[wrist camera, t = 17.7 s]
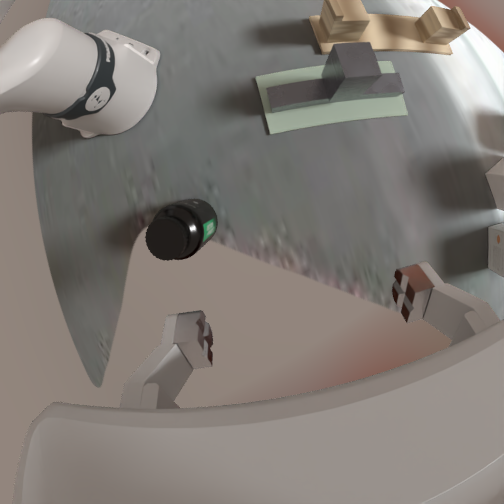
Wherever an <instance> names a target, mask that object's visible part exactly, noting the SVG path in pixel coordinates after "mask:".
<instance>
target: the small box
mask: <svg viewBox="0 0 504 504" xmlns="http://www.w3.org/2000/svg"><path fill="white" fill-rule="evenodd" d="M488 269H490V270H492V271H494V272H495V273H497V274H499V275H500V276H502V277H504V223H501V224H497V225H493V226H490V227H488Z"/></svg>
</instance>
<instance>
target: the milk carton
mask: <svg viewBox="0 0 504 504" xmlns="http://www.w3.org/2000/svg"><path fill="white" fill-rule="evenodd" d="M485 175H486V178H487V181H488V183H489V186H490V189H491V191H492V194H493V197H494V200H495V203H496V206H497V209H500V210H503V211H504V157H503V158H502V159H501V160H500V161H499V162H498V163H497V164H496V165H495V166H493V167H492V168H491V169H490V170H489V171H488V172H487V173H485Z"/></svg>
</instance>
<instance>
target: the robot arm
mask: <svg viewBox="0 0 504 504" xmlns="http://www.w3.org/2000/svg"><path fill="white" fill-rule="evenodd" d="M14 2H15V0H0V23H1V21H2V20H3V18H4V17H5V15H6V13H7V12H8V10H9V9H10V7H11V6H12V4H13V3H14ZM147 52H149V53H148V54H147V55H146V53H147ZM159 58H160V52H159V51H158V50H156V49H155V48H152V47H150V46H148V45H145V44H143V43H141V42H138V41H136V40H133V39H131V38H128V37H126V36H123V35H120V34H118V33H115V32H112V31H109V30H104V31H102V32H100V33H98V34H94V33H91V32H90V33H82V32H81V31H79V30H77V29H75V28H73V27H71V26H69V25H68V24H66V23H64V22H62V21H60V20H58V19H55V18H43V19H39V20H36V21H34V22H32V23H29V24H28V25H26V26H24V27H22V28H21V29H19V30H18V31H17V32H16V33H14V34H13V35H12V36H11V37H10V38H9V39H8V40H7V41H6V42H5V43H3V44H2V45H1V46H0V114H1V113H5V112H12V111H13V112H14V111H15V112H16V111H26V112H27V111H28V112H40V113H43V114H44V115H46V116H48V117H52V118H54V119H59V120H61V121H62V125H64V126H66V127H69V128H73V129H77V130H79V131H80V133H81V135H82V136H83V137H85V138H92V137H94V136H96V135H99V134H107V135H113V134H118V133H122V132H124V131H126V130H128V129H130V128H131V127H133V126H134V125H135V124H136V123H138V122H139V121H140V120H141V119H142V117H143V116H144V115H145V114H146V112H147V111H148V109H149V108H150V106H151V104H152V102H153V99H154V97H155V93H156V88H157V74H156V67H157V64H158V62H159ZM394 277H395V279H396V281H395V282H394V283H393V286H392V295H393V299H394V301H395V303H396V305H397V306H399V307H401V308H402V309H401V314H402V316H403V317H404V319H405V321H406V323H410V322H413V321H416V320H420V319H423V320H425V321H426V322H428V323H429V324H430V325H432V326H433V327H435V328H436V329H437V330H439V331H440V332H442V333H443V334H444V335H446V336H447V337H449V338H450V339H451V340H452V342H451V344H450V346H449V347H448V348H446V349H443V350H441V351H439V352H436V353H434V354H431V355H429V356H427V357H424V358H422V359H419V360H416V361H414V362H411V363H408V364H406V365H403V366H400V367H397V368H394V369H391V370H388V371H385V372H382V373H379V374H376V375H373V376H370V377H366V378H363V379H359V380H356V381H352V382H349V383H345V384H341V385H337V386H333V387H329V388H325V389H321V390H317V391H312V392H307V393H303V394H298V395H293V396H287V397H282V398H276V399H270V400H263V401H256V402H249V403H241V404H232V405H223V406H213V407H212V406H211V407H197V408H180V407H179V406H178V405H177V404H176V403H175V402H174V400H175V398H176V397H177V395H178V394H179V392H180V391H181V389H182V387H183V386H184V384H185V383H186V381H187V379H188V378H189V376H190V375H191V373H192V371H193V369H197V368H204V367H212V360H213V353H212V351H211V349H210V348H211V346H212V345H213V336H212V331H211V327H210V325H209V323H207V322H205V317H206V316H205V314H204V312H203V311H201V310H200V311H193V312H186V313H179V314H172V315H168V316H167V317H166V319H165V324H164V330H163V335H162V340H161V345H160V346H157V347H156V348H155V349H154V350H153V351H152V353H151V354H150V355H149V356H148V357H147V358H146V359H145V360H144V362H143V363H142V364H141V365H140V366H139V367H138V369H137V370H136V371H135V372H134V373H133V374H132V375H131V376H130V378H129V379H128V380H127V381H126V382H125V384H124V388H123V393H122V398H121V403H120V408H111V407H97V406H87V405H78V404H69V403H63V402H53V403H51V404H50V405H49V406H47V407H46V408H45V409H44V410H43V411H42V412H41V413H40V414H39V415H38V416H37V417H36V418H35V419H34V420H33V421H32V423H31V424H30V426H29V429H28V431H27V434H26V436H25V439H24V443H23V446H22V450H21V454H20V458H19V462H18V467H17V472H16V478H15V485H14V493H13V504H504V319H503V320H502V321H500V319H499V318H498V317H497V315H496V314H495V312H494V311H493V310H492V308H491V307H490V306H489V304H488V303H487V302H485V301H483V300H481V299H479V298H477V297H475V296H473V295H471V294H469V293H467V292H465V291H463V290H461V289H458V288H456V287H454V286H452V285H450V284H448V283H446V284H444V282H443V281H442V280H441V278H440V277H439V276H438V275H437V273H436V272H435V271H434V270H433V268H432V267H431V266H430V265H429V264H428V262H426V261H423V262H420V263H417V264H413V265H410V266H406V267H402V268H399V269H396V271H395V274H394Z"/></svg>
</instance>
